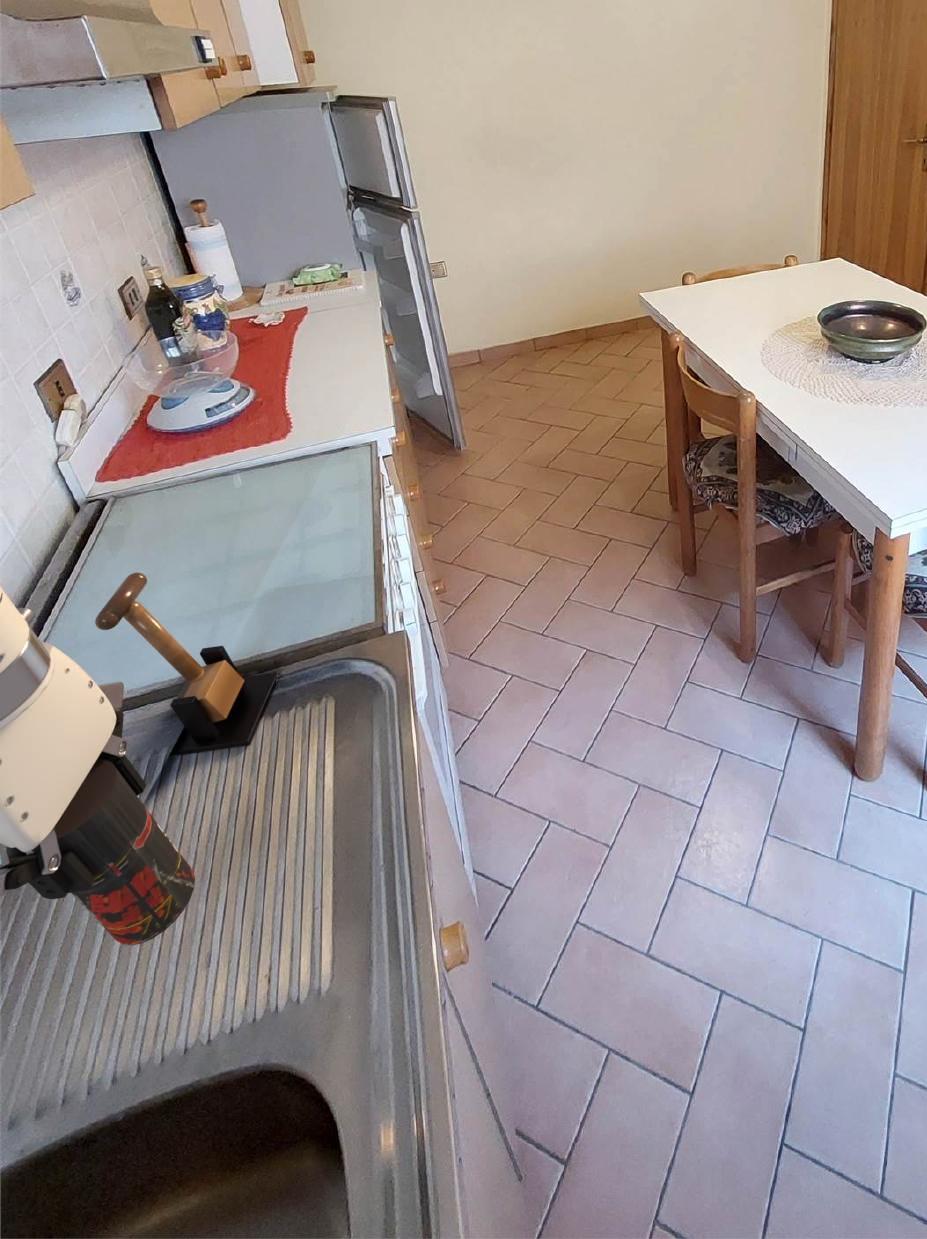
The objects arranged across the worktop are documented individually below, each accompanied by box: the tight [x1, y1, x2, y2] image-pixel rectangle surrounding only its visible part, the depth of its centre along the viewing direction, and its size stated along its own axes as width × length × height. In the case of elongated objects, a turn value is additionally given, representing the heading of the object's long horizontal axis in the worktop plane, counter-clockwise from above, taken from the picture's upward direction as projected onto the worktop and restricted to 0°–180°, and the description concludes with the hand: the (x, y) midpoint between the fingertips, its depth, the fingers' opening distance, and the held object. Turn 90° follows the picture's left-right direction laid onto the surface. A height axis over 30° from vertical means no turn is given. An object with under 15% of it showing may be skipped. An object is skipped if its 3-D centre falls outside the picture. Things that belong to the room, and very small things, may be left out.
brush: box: [94, 572, 244, 722], centre depth 77 cm, size 19×7×4 cm
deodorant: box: [30, 759, 196, 947], centre depth 54 cm, size 6×6×15 cm
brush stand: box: [168, 645, 280, 758], centre depth 81 cm, size 10×9×7 cm
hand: (99, 836), depth 53 cm, fingers closed on deodorant, 6 cm apart
